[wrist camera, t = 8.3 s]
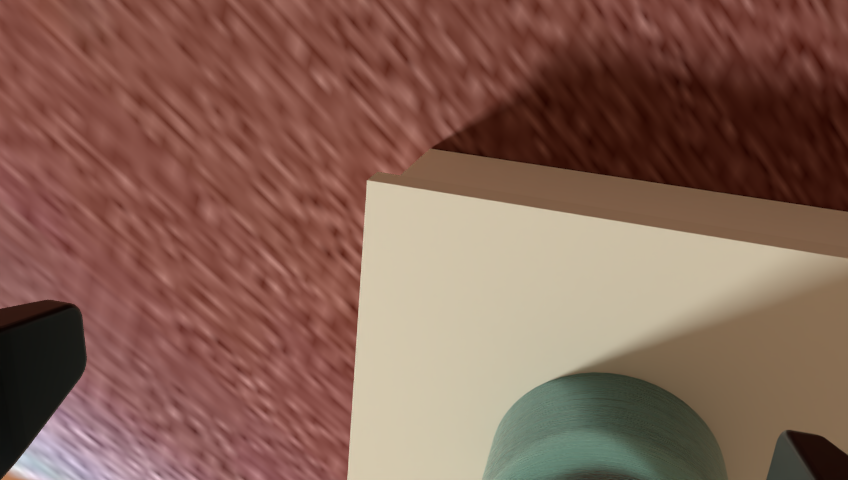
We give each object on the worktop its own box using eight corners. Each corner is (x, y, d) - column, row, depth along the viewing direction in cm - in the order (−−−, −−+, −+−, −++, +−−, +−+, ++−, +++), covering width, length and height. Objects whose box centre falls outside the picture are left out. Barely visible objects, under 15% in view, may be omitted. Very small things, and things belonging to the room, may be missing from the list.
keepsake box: (907, 209, 19) (996, 282, 15) (776, 592, 24) (812, 739, 19) (421, 137, 22) (366, 180, 17) (388, 495, 26) (339, 604, 22)
